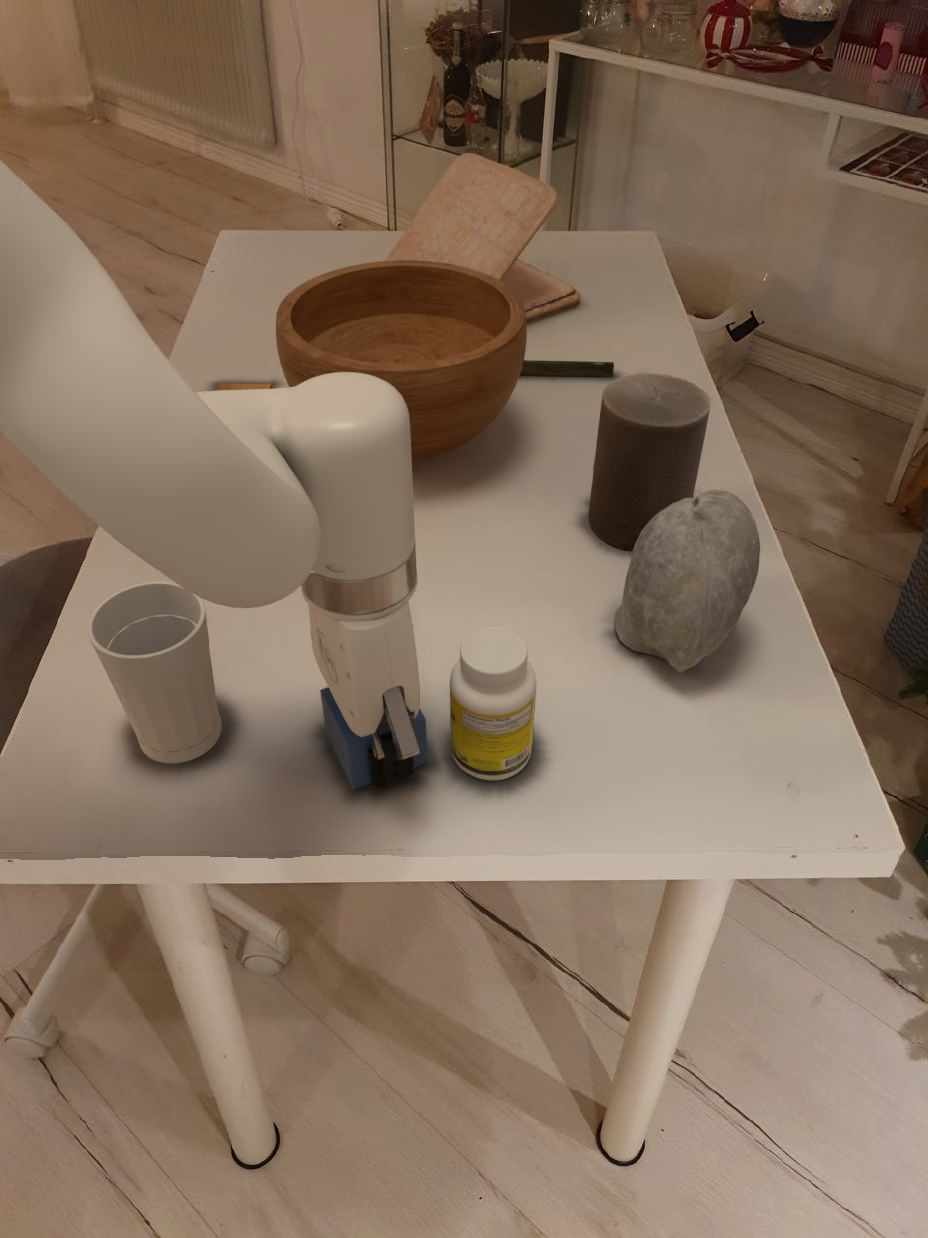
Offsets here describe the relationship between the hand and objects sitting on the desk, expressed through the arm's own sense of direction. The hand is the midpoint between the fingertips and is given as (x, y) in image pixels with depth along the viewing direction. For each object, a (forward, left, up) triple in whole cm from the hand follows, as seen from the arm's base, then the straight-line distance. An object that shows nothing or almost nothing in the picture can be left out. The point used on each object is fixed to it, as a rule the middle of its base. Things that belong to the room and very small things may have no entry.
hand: (375, 745), depth 75 cm
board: (+4, +53, -1) cm, 53 cm away
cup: (-13, +8, 0) cm, 15 cm away
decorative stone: (+28, +1, 0) cm, 28 cm away
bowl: (+19, +39, 0) cm, 43 cm away
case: (+42, +68, 0) cm, 80 cm away
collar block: (0, 0, 0) cm, 0 cm away
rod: (+33, +49, -1) cm, 59 cm away
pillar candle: (+34, +16, -1) cm, 37 cm away
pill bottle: (+8, -4, 0) cm, 9 cm away
